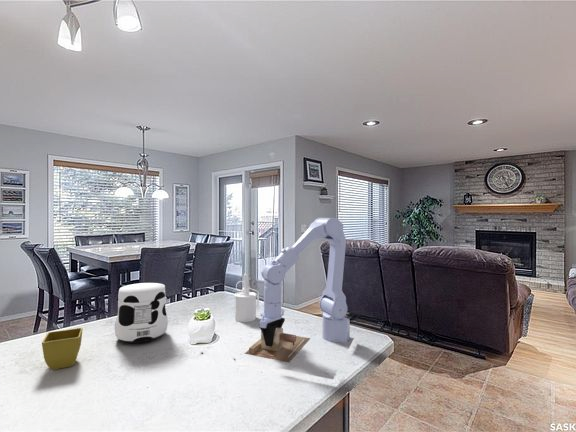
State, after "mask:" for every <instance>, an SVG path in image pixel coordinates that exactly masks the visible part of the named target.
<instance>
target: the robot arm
mask: <svg viewBox="0 0 576 432" xmlns="http://www.w3.org/2000/svg"><path fill="white" fill-rule="evenodd" d="M322 238H324V239H325V240H326V241H327V242H328V243H329V255H328V268H327V277H326V278H327V279H326V287H325V289H324V290H323V291H322V293H321V298H320V299H319V302H318V304H319V305H318V306H319V309H320V310H321V311H322V312H321V314H322V333H321V334H322V336H321V337H322V339H324V341H328V342H334V343H335V342H337V343H342V344H347V343H348V341H350V335H351V334H350V330H351V329H350V328H351V323H350V322H351V321H350V318H348V317H345V316H346V315H347V313H348V304H347V297H346V294H345V293H344V292H343V282H344V281H343V280H344V272H345V271H344V267H345V257H346V246H347V239H346V236H345V232H344V224H343V223H342V222H341V220H339V219H338V217H337V218H336V217H322V216H321V217H317V218H316V219H315V220H314V221H313V222H311V223H310V224H309V227H308V228H307V229H306V230H305V232H304V233H302V235H301V236H300V237H299V238H297V241H296V242H294V244H293V245H292V246H287V247H285V248H284V247H283V248H282V249H281V250H280V253H279V254H278V256H276V257H275V258H274V259H272V260H270V262H271V263H268V264H266V265H265V266H264V267H263V269H262V271H261V277H262V279H264V280H263V283H264V285H263V312H261V313H260V317H261V320H260V321H259V324H258V327H259V330H260V332H261V331H262V333H263V336H264V340H265V344H266V346H270V347H272V345H273V340H274V333H275V330H276V328H277V327H278V328H283V324H285V323H284V322H285V321H286V320H285V319H286V318H284V317H283V316H284V315H285V309H284V308H282V295H283V293H282V290H283V289H282V283H283V281H284V280H285V278H286V274H287V272H289V270H290V269H291V268H292V267H293V266H295V264H296V263H297V262H298V261H299V259H300V254H301V253H302V252H303V251H304V250H306V248H307V247H308V246H310V244H312V243H313V242H314V241H315V240H316V239H322Z"/></svg>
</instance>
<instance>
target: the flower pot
mask: <svg viewBox="0 0 576 432" xmlns="http://www.w3.org/2000/svg"><path fill="white" fill-rule="evenodd" d="M82 337H83V327H78V328H76V327H75V328H71V329H70V328H69V329H65V330H55V331H49V332H47V333H46V334H45V336H44V338H43V340H42V342H41V347H42V355H43V359H44V362H45V364H46V366H47V367H48V368H49V369H50V370H51V371H53V370H59V369H64V368H70V367H73V366H74V365H75V363H76V361H77V359H78V354H79V352H80V349H81V345H82Z"/></svg>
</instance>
